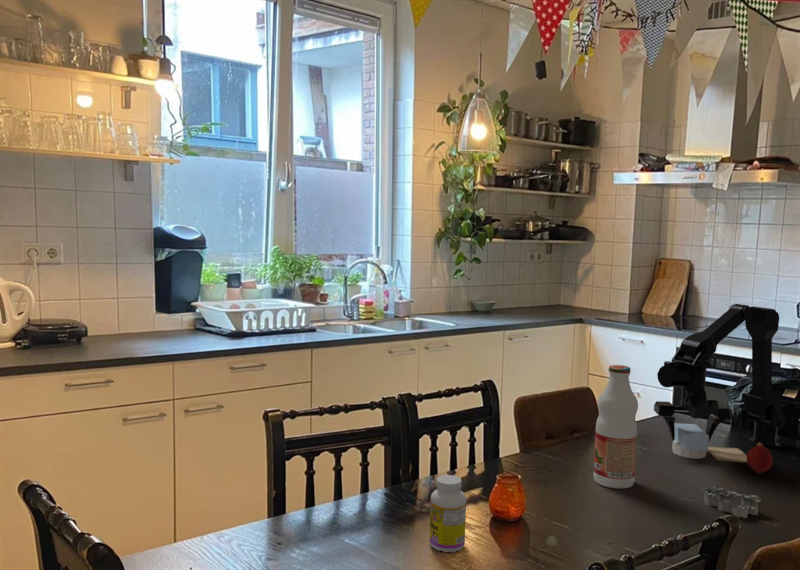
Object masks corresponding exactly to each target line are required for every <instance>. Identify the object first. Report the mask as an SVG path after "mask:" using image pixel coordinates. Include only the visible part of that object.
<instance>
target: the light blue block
mask: <svg viewBox="0 0 800 570" xmlns="http://www.w3.org/2000/svg"><path fill="white" fill-rule="evenodd" d="M674 425H675V438H674V440H676V441H677V442H678V443H679V444H680V445H681V446H682V447H683V449H685V450H702V451H707V452H708V447H709V443H710V441H709V436H708V435H707V434H706V431H704V430H703V429H702V428H701V427H699V425H697V424H696V423H695V424H694V423H679V422H674Z"/></svg>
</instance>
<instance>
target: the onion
mask: <svg viewBox="0 0 800 570" xmlns="http://www.w3.org/2000/svg"><path fill="white" fill-rule="evenodd" d="M746 455H747V462H746V463H747V465H748V466H749V468H750V469H752V471H754V473H756V474H758V475H761V474H763V473H765V472H767V471H769V470H770V469H771V467H772V465H773V460H774V459H773V456H772V454H771V452H770V451H769V449H768V448H767V447H766V446H763V445H762V444H761V443H757V445H756V446H753V447H751V448H750V449H749V451H748V452H747V453H746Z"/></svg>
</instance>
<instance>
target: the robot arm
mask: <svg viewBox="0 0 800 570" xmlns="http://www.w3.org/2000/svg"><path fill="white" fill-rule="evenodd" d="M743 323H744V324H745V329H746V331H747V332H748V334H749V336H750V338H751V379H752V380H751V384H752V385H751V389H749V392H748V393H746V392H745V393H744V395H743V399H744V403H743V407H744V408H745V409H744V410H745V412H746V416H747V417H746V418H747V420H749V421H754V428H753V437H748V440H749V441H750V442H752V444H754V445H756V446H757V443H761V444H762V445H763V446H764V447H772V448H781V447H782V446H781V444H780V443H778V442H777V433H778V428H783V427H785V426H786V422H787V417H786V416H785V414H784V413H783V412H782V410H781V409H780V404H779V398H778V396H777V395H776V393H775V391H774V390H773V372H772V371H773V365H772V364H773V357H772V355H773V349H772V348H773V341H772V340H773V337H774V336H775V335H776V333H777V332H778V331H779V324H780V314H779V312H777V311H776V309H774V308H768V307H760V306H755V305H754V306H750V305H747V304H740V303H734V304H731V305H730V306H729V308H728V310H727V311H726V312H724V313H723V314H722V315H721V316H719V317H718V318H717V319H716V320H714V321H713V322H712V323H711V324H709V326H707V327H706V328H705V329H703V330H702V331H699V332H695V333H692V334H691V335H688V336H687V337H685V338H684V339H683V340H682V341H681V343H680V345H679V347H678V349H677V350H676V352H675V353H674V354H673V357H672V358H671V361H669V360H667V361H666V360H665V361H663V365H662V366H661V367H660V368H659V369H658V371H657V380H658V383H659V384H660V385H661V386H662V387H664V388H677V387H678V388H679V387H680V390H681V397H680V398H681V400H679V405H674V404H673V403H671V401H659V400H656V401H655V402H654V405H653V411H654V412H655V413H656V414H657V415H658V416H660V417H661V418H662V419H664V420H665V423H666V426H667V429H668V431H669V432H668V433H669V435H670V438H671V440H672V442H673V441H674V440H675V439H674V438H675V425H674V423H676V417H675V416H674V415H675V414H689V416H690V417H691V418H692V419H704V420H706V427H705V433H706V434H707V435H708V436H709V442H710V441H711V439H712V437H713V434H714V432H715V430H716V429H717V427H718V426H719V425H720V424H722V423H726V420H727V421H728V420H729V421H730V420H732V415H733V413H732V410H731V409H730V408H728V406H726V405H724V404H720V403H719V401H718V400H717V399H707V390H706V379H707V378H706V377H707V370H708V369H713V365H712V364H711V363H709V360H710V359H711V357H712V356H714V354H715V353H716V352H717V348H718V347H717V346H718V344H719V343H720V342H722V341H723V340H724V339H725V338H726V337H728V336H729V335H730V334H731V333H732V332H733V331H735V329H737V328H738V327H739V326H740V325H742V324H743Z"/></svg>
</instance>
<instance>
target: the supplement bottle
mask: <svg viewBox="0 0 800 570" xmlns="http://www.w3.org/2000/svg"><path fill="white" fill-rule="evenodd" d="M435 483H436V484H435V485H436V488H437V489H435V490H434V491H432V493H431V496H430V507H429V509H430V511H429V512H430V513H429V514H430V515H429V536H428V539H429V545H430V547H431V548H432V547H433V548H434V549H433V548H432V549H433V550H435V549H436V551H437V550H438V551H437V552H440V551H443V552H442V553H445V552H451V553H456V551H457V552H459V551H461V550H463V548H464V547H465V543H466V519H467V518H466V517H467V516H466V515H467V496H466V494H465V493H464V492H463V491H462V490H461V488H462V486H463V485H462V483H463V482H462V478H461V477H459V476H456V475H452V474H451V475H450V474H444V475H440V476H437V478H436V482H435Z"/></svg>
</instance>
